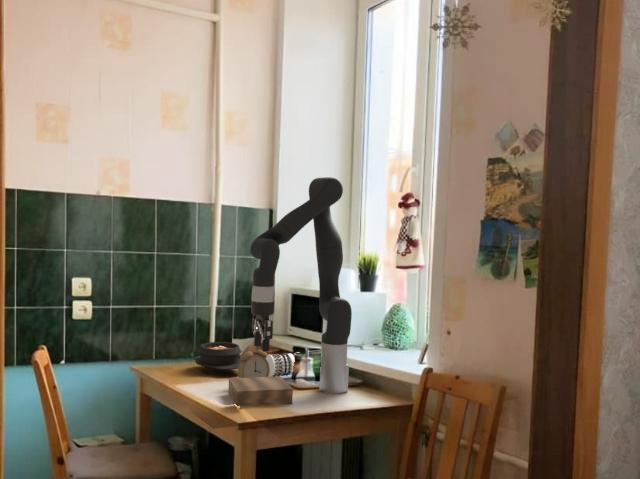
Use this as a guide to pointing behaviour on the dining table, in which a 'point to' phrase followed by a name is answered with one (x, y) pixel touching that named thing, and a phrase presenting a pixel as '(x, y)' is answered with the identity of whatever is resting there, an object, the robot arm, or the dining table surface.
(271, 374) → the decorative candle
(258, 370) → the alarm clock
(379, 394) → the dining table surface
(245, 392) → the walnut block
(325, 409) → the dining table surface
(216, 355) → the casserole
